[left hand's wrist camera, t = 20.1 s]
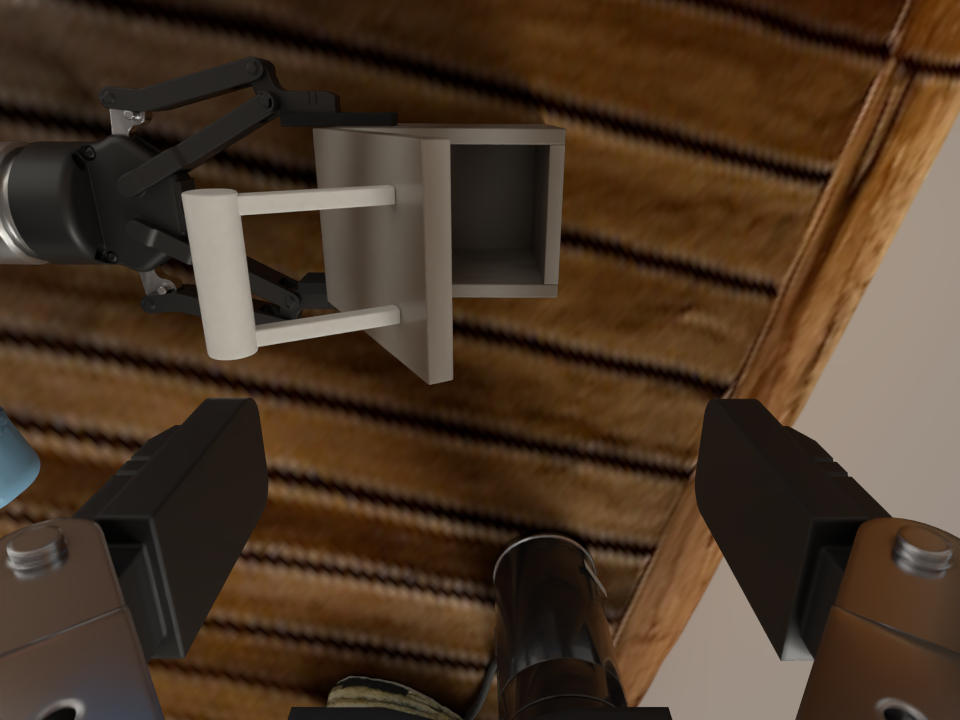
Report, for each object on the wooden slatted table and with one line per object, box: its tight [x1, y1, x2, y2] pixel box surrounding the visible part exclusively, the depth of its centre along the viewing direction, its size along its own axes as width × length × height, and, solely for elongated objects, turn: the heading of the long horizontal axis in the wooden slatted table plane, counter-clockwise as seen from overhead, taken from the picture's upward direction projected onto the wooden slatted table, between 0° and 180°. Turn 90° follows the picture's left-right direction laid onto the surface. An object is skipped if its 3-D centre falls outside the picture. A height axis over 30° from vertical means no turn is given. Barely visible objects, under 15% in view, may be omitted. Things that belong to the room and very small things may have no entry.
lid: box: [181, 128, 453, 385], centre depth 28 cm, size 14×10×9 cm
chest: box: [328, 123, 566, 298], centre depth 41 cm, size 13×10×11 cm
